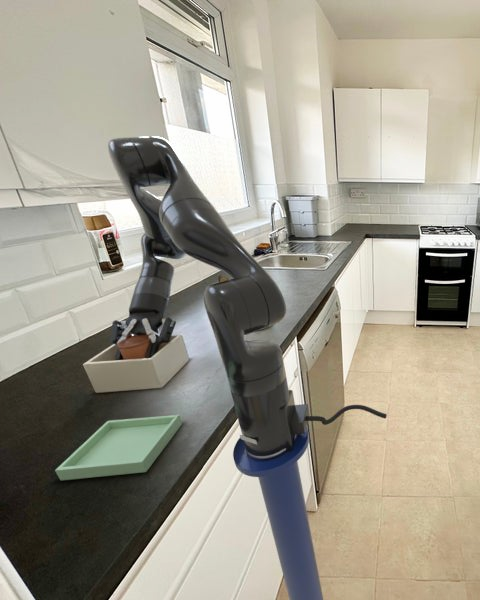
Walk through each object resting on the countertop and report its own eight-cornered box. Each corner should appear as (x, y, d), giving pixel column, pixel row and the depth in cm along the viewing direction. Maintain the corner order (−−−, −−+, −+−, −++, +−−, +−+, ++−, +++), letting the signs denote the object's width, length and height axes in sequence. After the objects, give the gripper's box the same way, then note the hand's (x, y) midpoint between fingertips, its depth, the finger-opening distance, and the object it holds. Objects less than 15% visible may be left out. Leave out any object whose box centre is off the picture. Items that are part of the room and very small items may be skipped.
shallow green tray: (182, 423, 63) (179, 414, 62) (146, 472, 52) (141, 462, 51) (111, 429, 61) (107, 420, 61) (60, 480, 51) (54, 470, 50)
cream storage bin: (189, 359, 85) (182, 334, 83) (162, 387, 74) (151, 359, 71) (132, 363, 84) (123, 337, 81) (95, 393, 72) (82, 364, 70)
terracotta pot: (166, 364, 82) (155, 333, 79) (151, 378, 76) (139, 346, 73) (140, 365, 81) (129, 335, 78) (123, 380, 76) (110, 347, 72)
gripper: (110, 293, 78) (90, 359, 71) (171, 290, 79) (156, 354, 73) (132, 304, 85) (115, 366, 78) (188, 301, 86) (175, 361, 80)
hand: (135, 360), depth 76 cm, fingers closed on terracotta pot, 6 cm apart
